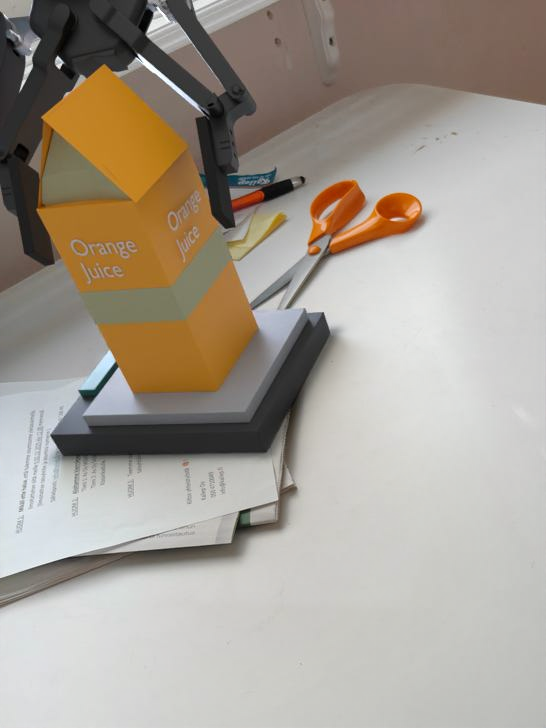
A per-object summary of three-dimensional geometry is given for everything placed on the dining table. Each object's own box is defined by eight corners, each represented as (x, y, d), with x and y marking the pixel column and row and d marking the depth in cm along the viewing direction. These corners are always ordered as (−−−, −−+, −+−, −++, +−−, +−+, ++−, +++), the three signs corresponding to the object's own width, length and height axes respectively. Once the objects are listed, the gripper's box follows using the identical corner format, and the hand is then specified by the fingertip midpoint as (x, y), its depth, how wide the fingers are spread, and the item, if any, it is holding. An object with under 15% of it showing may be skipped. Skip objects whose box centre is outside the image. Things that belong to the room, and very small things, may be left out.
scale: (62, 455, 76) (42, 424, 74) (146, 341, 86) (131, 311, 84) (266, 452, 71) (252, 419, 69) (330, 332, 81) (320, 300, 79)
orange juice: (130, 393, 75) (-12, 124, 60) (177, 330, 80) (57, 69, 65) (219, 391, 72) (94, 111, 58) (261, 326, 78) (156, 56, 63)
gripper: (267, -74, 69) (317, 225, 70) (-57, 2, 71) (-4, 290, 72) (231, -154, 61) (287, 182, 62) (-130, -66, 64) (-70, 256, 65)
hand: (131, 241), depth 67 cm, fingers open, 13 cm apart
